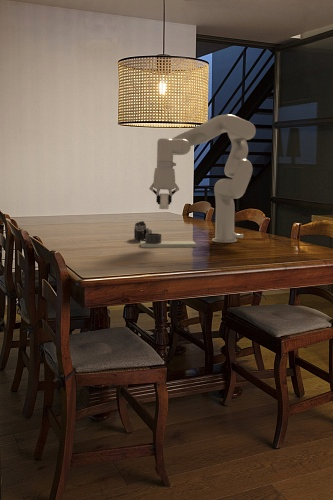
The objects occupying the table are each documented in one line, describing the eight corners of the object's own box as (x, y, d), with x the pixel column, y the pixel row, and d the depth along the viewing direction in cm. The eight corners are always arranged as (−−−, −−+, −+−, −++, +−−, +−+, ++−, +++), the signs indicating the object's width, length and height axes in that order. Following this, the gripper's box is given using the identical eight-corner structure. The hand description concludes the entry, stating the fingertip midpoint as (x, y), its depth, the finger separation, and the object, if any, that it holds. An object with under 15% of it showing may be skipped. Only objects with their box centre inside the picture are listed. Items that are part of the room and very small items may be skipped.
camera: (153, 242, 285) (153, 222, 284) (137, 242, 284) (137, 222, 282) (149, 238, 301) (149, 219, 299) (133, 238, 299) (133, 219, 298)
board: (193, 244, 279) (193, 241, 279) (196, 247, 269) (196, 243, 269) (140, 244, 277) (140, 241, 277) (141, 247, 268) (141, 244, 267)
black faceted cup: (160, 241, 277) (160, 233, 276) (161, 243, 269) (161, 235, 269) (145, 241, 276) (145, 233, 276) (145, 243, 269) (145, 235, 268)
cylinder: (168, 208, 273) (168, 193, 272) (168, 209, 268) (169, 193, 267) (158, 208, 272) (159, 193, 271) (159, 209, 268) (159, 193, 267)
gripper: (181, 165, 272) (180, 204, 274) (146, 164, 270) (145, 203, 273) (183, 165, 265) (182, 205, 267) (147, 164, 263) (146, 204, 266)
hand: (163, 203), depth 270 cm, fingers closed on cylinder, 4 cm apart
